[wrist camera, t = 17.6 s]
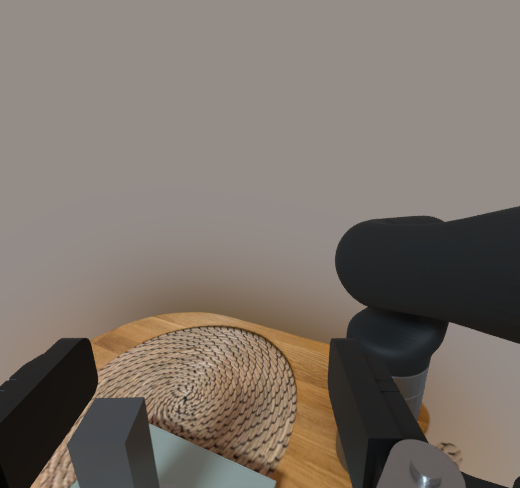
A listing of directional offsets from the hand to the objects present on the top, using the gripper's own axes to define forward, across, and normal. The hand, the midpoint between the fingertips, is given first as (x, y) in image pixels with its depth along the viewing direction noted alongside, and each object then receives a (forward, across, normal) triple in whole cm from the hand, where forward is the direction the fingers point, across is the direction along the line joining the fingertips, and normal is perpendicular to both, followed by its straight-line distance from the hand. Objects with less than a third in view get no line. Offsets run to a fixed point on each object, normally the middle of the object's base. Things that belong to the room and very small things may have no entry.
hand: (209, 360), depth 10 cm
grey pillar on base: (+11, +12, +31) cm, 35 cm away
